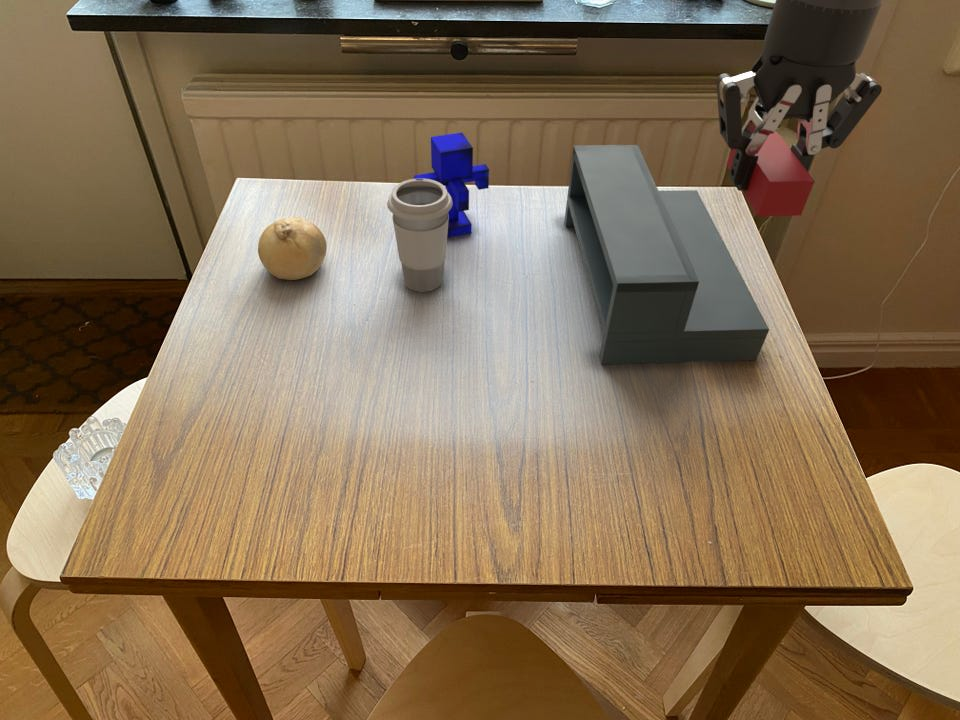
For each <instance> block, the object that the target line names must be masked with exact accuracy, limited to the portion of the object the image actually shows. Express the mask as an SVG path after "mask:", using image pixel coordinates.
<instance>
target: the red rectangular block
mask: <svg viewBox="0 0 960 720" xmlns="http://www.w3.org/2000/svg"><path fill="white" fill-rule="evenodd" d="M790 149H791V147H789V145H788V144H787V142H786V141H785V140H784V139H783V137H782V136H781V135H780V133H779V132H778V131H775V132H774V133H773V134H770V135H769V136H768V137H767V139H766V141H765V142H764V144H763V146H762V147H761V149H760V150H759V152H758V153H757V154H758V156H759V158H758V161H757V162H756V165H755V168H754V171H753V174H752V177H751V180H750V184H749V187H748V189H747V190H746V191H742V193H743V194H744V196H745V198H746V200H747V202H748V203H749V204H750V206H751V208H752V209H753V211H754V213H755V214H756V216H757V217H794V216H795V217H797V216H798V217H799V216H800V217H801V216H802V214H803V211H804V209H805V208H806V207H805V206H806V204H807V201H808V200H809V197H810V194H811V193H812V192H811V191H812V190H813V187H814V184H815V180H814V178H813V177H812V175H811V174H810V173H809V171H808V172H807V170H806V169H805V168H804V166H803V165H802V164H801V163H800V161H799V160H798V159H797V157H796V156H795V155H794V153H793V152H792V151H791V150H790ZM735 152H736V149H730V152H729V155H728V159H727V162H726V166H727V168H728V170H729V171H730V169H731V165H732V163H733V159H734V155H735Z"/></svg>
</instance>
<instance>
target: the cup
mask: <svg viewBox="0 0 960 720" xmlns="http://www.w3.org/2000/svg"><path fill="white" fill-rule="evenodd" d="M386 203H387V208H388V210H389V212H390V213H392V216H391V217H392V223H393V224H392V225H393V229H394V233H395V234H394V235H395V242H396V247H397V254H398V259H399V261H400V264H401V270H402V276H403V282H404V284H405V286H406V287H407V288H408V289H410V290H411V291H413V292H418V293H426V292H432V291H435V290H436V289H438V288H439V287H441V285H442V283H443V279H444V269H445V267H444V266H445V260H446V255H447V245H448V244H447V243H448V237H447V232H448V220H449V215H448V212H449V211H450V209H451V208H452V205H453V202H452V198H451V196H450V195H449V193H448V192H447V190H446V188H445V186H443V185H442V184H441V183H439V182H437V181H434V180H430V179H421V178H419V179H414V178H411V179H407V180H403V181H401V182H399V183H398V184H396V185H395V186H394V187H393V188H392V190H391V193H390V194H389V196H388V199H387V202H386Z"/></svg>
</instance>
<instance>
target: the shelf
mask: <svg viewBox="0 0 960 720" xmlns="http://www.w3.org/2000/svg"><path fill="white" fill-rule="evenodd" d="M570 165H571V166H570V171H569V172H570V173H569V180H568V188H567V196H566V205H565V212H564V226H565V227H573V228H574V230H575V233H576V239H577V241H578V245H579V248H580V252H581V256H582V260H583V264H584V267H585V271H586V274H587V278H588V283H589V285H590V289H591V293H592V296H593V300H594V303H595V308H596V311H597V314H598V318H599V321H600V326H601V330H602V333H603V334H602V335H603V336H602V340H601V345H600V346H601V347H600V352H599V356H598V357H599V362H600V365H627V364H629V365H630V364H631V365H632V364H661V363H663V364H664V363H665V364H666V363H667V364H669V363H699V362H701V363H702V362H703V363H704V362H734V361H735V362H736V361H737V362H738V361H757V360H758V358H759V355H760V353H761V351H762V348H763V346H764V344H765V341H766V338H767V336H768V333H769V331H770V328H769V326H768V324H767V322H766V320H765V319H764V316H763V315H762V313H761V311H760V309H759V307H758V305H757V303H756V301H755V300H754V297H753V295H752V294H751V291H750V290H749V288H748V286H747V284H746V282H745V279H744V278H743V275H742V274H741V272H740V270H739V268H738V266H737V265H736V263H735V261H734V259H733V256H732V255H731V253H730V251H729V249H728V247H727V246H726V243H725V242H724V240H723V237H722V236H721V234H720V232H719V230H718V228H717V226H716V225H715V223H714V221H713V218H712V217H711V214H710V212H709V210H708V209H707V207H706V205H705V203H704V201H703V200H702V197H701V195H700V194H699V191H698V190H697V189H693V190H691V189H690V190H688V189H687V190H684V189H683V190H659V188H658V186H657V184H656V182H655V180H654V177H653V176H652V173H651V171H650V169H649V166H648V164H647V162H646V160H645V157H644V155H643V153H642V151H641V149H640V147H639V144H595V145H594V144H592V145H587V144H586V145H578V144H577V145H573V148H572V155H571V164H570Z"/></svg>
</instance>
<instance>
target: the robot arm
mask: <svg viewBox="0 0 960 720" xmlns="http://www.w3.org/2000/svg"><path fill="white" fill-rule="evenodd" d="M883 2H884V0H775V2H774V5H773V8H772V11H771V15H770V19H769V22H768V24H767V25H768V26H767V28H766V29H767V30H766V32H765V35H764V40H763V46H762V51H761V54H760V55H759V57H758V58H757V60H756V61H755V62H754V64H753V65H752V66H751V68H750V71H747V72H743V73H740V74H738V75H737V74H736V75H735V76H731V75H730V74H729V73H727V72H725V73H721V74H720V75H718V77H717V79H716V83H715V84H716V97H717V110H718V123H719V134H720V136H721V138H723V141H725V143H726V145H727V147H728V148H729V149H730V150H731V149H736V152H735V155H734V159H733V163H732V165H731V169H730V170H729V178H730V180H731V181H732V183H733V185H734V186H735V188H736V189H737V191H738V192H743V191H746V190H747V189H748V187H749V184H750V180H751V177H752V174H753V171H754V168H755V165H756V162H757V161H758V158H759V156H758V154H757V153H758V152H759V150H760V149H761V147H762V146H763V144H764V142H765V141H766V139H767V137H768V136H769V135H770V134H773V133H774V132H777V131H776V130H777V129H778V128H779V125H780V124H781V123H782V121H784V120H788V119H793V118H795V119H797V129H796V130H797V132H796V140H797V142H796V143H792V144H791V147H790V150H791V151H792V152H793V153H794V155H795V156H796V157H797V159H798V160H799V161H800V163H801V164H802V165H803V166H804V168H805V169H806V170H807V172H808V173H809V169H810V167H811V165H812V163H813V160H814V157H815V155H816V154H817V155H818V154H819V152H820V151H821V150H823V149H826V148H829V147H830V148H831V149H838V148H839V147H841V146H842V144H843V143H844V142H845V141H846V140H847V138H848V137H849V136H850V134H851V133H852V132H853V130H854V129H855V128H856V126H857V125H858V124H859V123H860V121H861V119H862V118H863V117H864V115H866V113H867V112H868V111H869V109H870V108H871V107H872V106H873V104H874V102H876V100H877V99H878V97H879V96H880V95H881V93H882V92H883V87H882V85H880V84H879V83H878V81H877V80H876V79H875V78H874V77H872V76H871V75H869V74H868V73H867V72H861V73H858V72H857V68H856V63H857V61H858V60H859V59H860V58H861V56H862V55H863V52H864V50H865V47H866V44H867V42H868V40H869V37H870V35H871V32H872V30H873V27H874V25H875V22H876V20H877V17H878V14H879V12H880V11H881V7H882V4H883ZM752 88H753V89H754V91H755V94H756V95H757V96H756V98H755V100H754V101H753V103H752V105H751V106H750V108H749V109H748V113H747V119H746V120H745V122H744V124H743V123H742V105H741V104H744V103H746V101H747V98H748V93H749V91H750V90H751V89H752ZM841 94H842V96H841V97H840V98H839V100H838V101H837V103H836V104H835V106H834V107H833V108H832V110H831V111H830V112H829V105H830V104H831V103H833V101H834V100H835V99H836V98H838V97H839V96H840V95H841ZM828 113H829V114H828ZM742 125H743V126H742Z"/></svg>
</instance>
